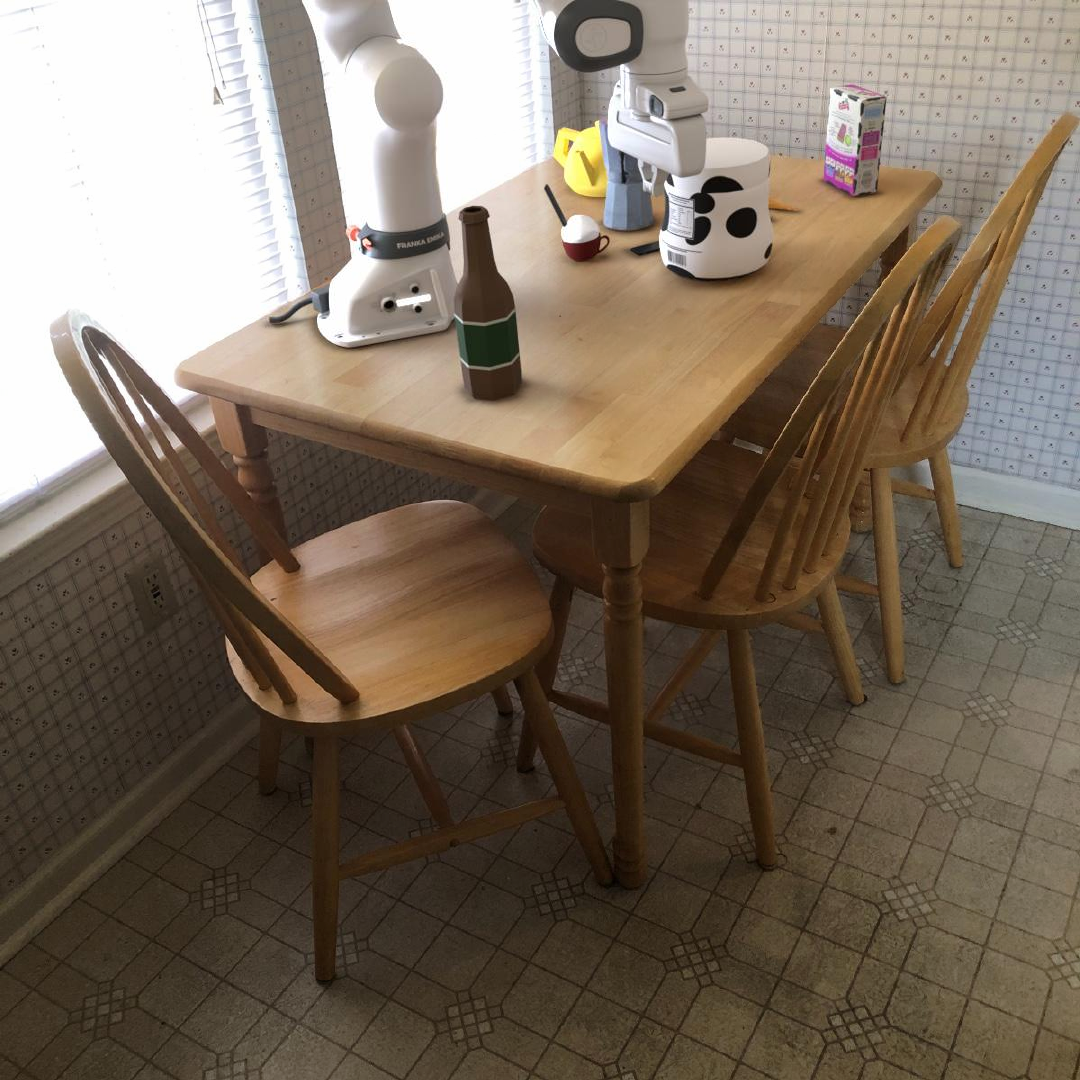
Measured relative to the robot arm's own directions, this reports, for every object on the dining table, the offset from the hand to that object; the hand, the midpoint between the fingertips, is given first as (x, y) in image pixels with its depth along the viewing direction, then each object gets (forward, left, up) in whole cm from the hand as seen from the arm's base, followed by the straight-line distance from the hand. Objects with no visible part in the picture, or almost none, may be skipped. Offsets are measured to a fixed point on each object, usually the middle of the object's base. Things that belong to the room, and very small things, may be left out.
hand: (653, 193), depth 157 cm
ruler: (+20, +19, -16) cm, 32 cm away
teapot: (+20, +52, -16) cm, 58 cm away
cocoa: (-1, +23, -16) cm, 28 cm away
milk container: (+14, +5, -16) cm, 22 cm away
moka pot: (+13, +31, -16) cm, 37 cm away
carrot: (+34, +27, -16) cm, 47 cm away
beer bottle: (-32, -11, -16) cm, 37 cm away
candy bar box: (+54, +23, -16) cm, 61 cm away
